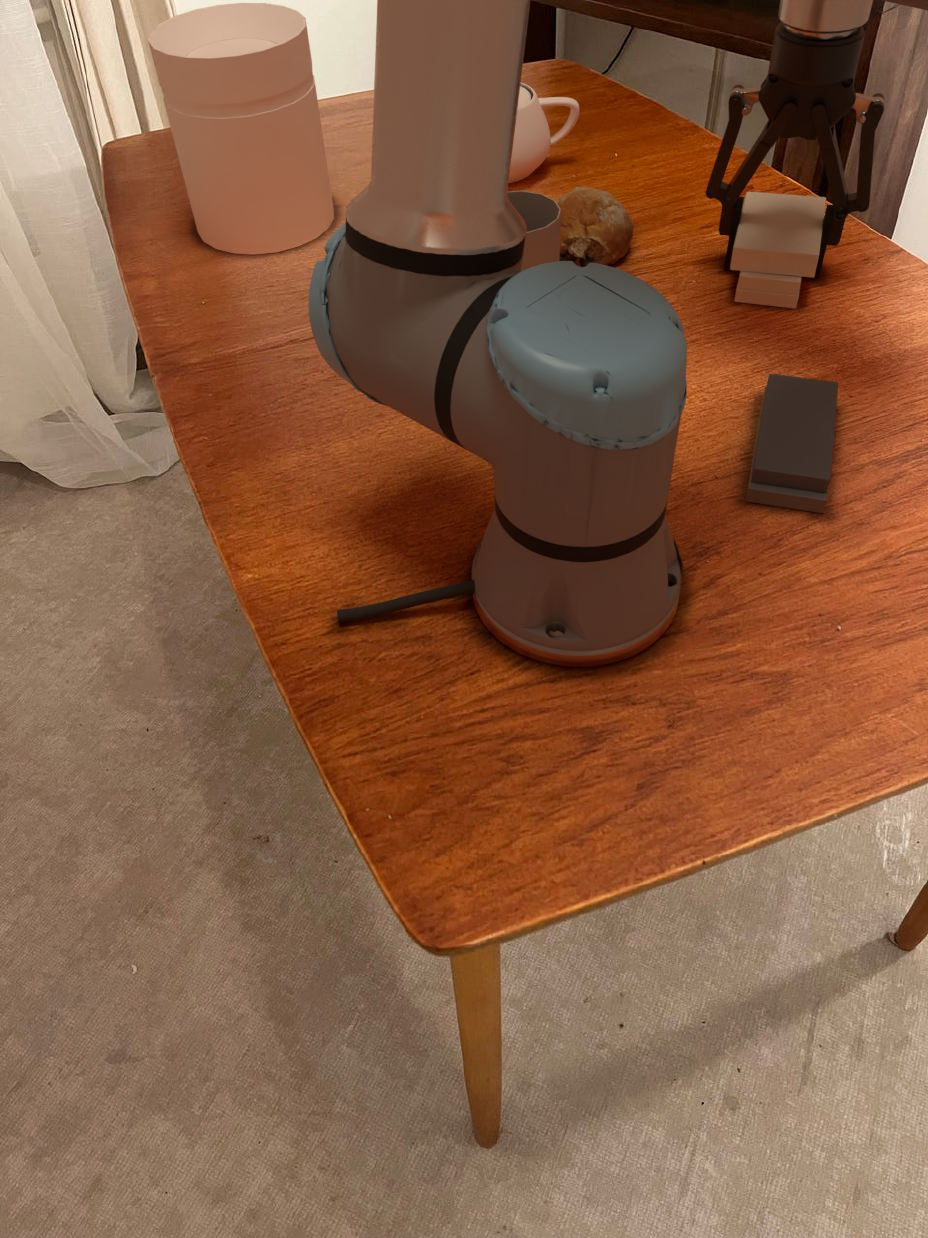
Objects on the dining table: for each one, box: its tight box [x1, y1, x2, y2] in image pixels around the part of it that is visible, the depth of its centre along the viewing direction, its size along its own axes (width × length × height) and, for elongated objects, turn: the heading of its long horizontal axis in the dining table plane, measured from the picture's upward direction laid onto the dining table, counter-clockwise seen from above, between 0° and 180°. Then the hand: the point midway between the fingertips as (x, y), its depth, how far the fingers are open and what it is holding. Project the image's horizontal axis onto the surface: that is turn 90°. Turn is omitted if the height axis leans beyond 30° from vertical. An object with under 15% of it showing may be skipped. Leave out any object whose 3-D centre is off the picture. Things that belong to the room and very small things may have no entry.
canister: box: [147, 2, 335, 256], centre depth 107 cm, size 16×16×20 cm
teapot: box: [508, 82, 580, 184], centre depth 116 cm, size 22×14×11 cm, turn 95°
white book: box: [729, 191, 827, 278], centre depth 99 cm, size 12×8×2 cm, turn 163°
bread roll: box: [556, 186, 634, 267], centre depth 105 cm, size 10×10×8 cm
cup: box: [507, 190, 561, 271], centre depth 96 cm, size 8×8×10 cm
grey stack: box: [745, 373, 839, 514], centre depth 81 cm, size 14×6×3 cm, turn 163°
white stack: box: [734, 271, 802, 309], centre depth 101 cm, size 14×6×3 cm, turn 163°
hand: (771, 267), depth 102 cm, fingers closed on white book, 8 cm apart
